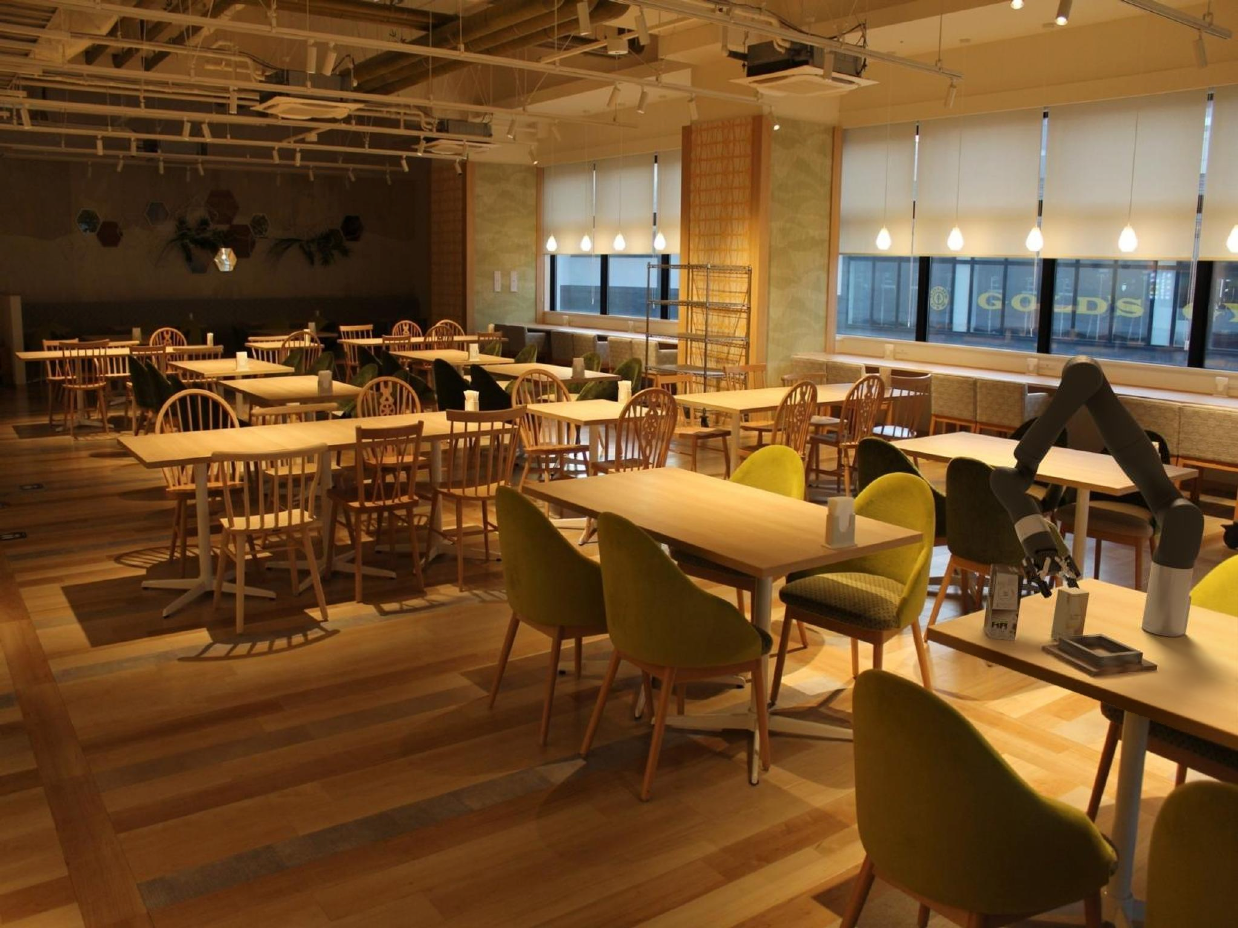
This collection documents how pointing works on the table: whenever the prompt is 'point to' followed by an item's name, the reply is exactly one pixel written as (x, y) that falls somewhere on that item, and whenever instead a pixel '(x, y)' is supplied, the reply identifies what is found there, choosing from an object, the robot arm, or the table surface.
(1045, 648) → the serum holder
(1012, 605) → the coffee box
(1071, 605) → the skincare box
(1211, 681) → the table surface
